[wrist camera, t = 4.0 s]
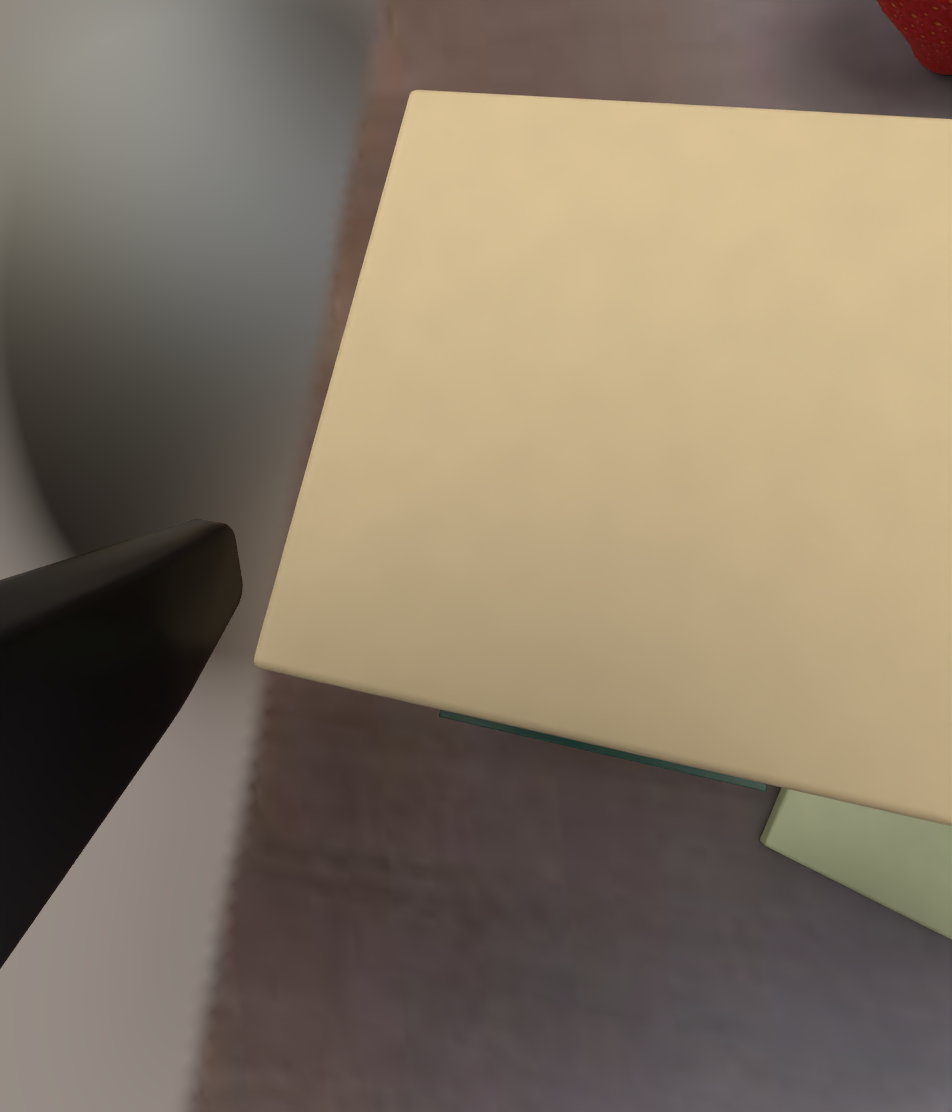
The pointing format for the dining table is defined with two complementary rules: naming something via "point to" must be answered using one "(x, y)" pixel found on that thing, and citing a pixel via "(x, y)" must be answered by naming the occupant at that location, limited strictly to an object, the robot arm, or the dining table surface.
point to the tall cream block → (647, 443)
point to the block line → (869, 853)
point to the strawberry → (924, 30)
